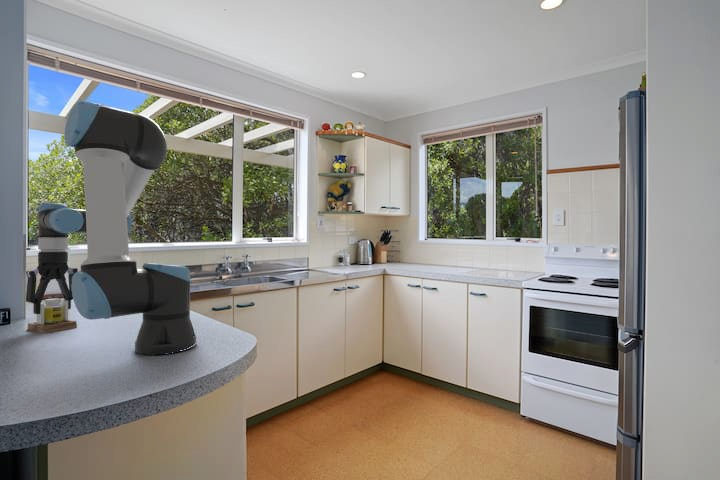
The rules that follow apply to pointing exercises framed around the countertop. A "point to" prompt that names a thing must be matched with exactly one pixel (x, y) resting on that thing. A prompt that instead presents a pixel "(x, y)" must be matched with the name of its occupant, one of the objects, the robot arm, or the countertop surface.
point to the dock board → (52, 326)
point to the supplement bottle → (52, 312)
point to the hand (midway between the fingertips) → (52, 321)
